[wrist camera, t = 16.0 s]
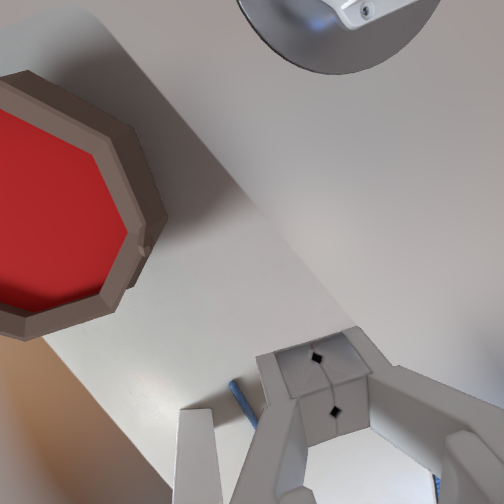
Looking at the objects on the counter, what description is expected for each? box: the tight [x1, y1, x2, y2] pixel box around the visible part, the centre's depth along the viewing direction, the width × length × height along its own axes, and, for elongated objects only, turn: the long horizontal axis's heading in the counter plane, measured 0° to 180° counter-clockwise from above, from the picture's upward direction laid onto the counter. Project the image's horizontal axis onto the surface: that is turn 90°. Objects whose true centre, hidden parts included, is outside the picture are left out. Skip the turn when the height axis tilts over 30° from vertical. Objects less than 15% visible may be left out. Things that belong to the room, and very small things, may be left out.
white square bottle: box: [172, 408, 223, 504], centre depth 44 cm, size 6×6×22 cm
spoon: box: [229, 381, 258, 430], centre depth 56 cm, size 19×4×1 cm, turn 22°
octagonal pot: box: [0, 70, 168, 341], centre depth 30 cm, size 24×24×16 cm
